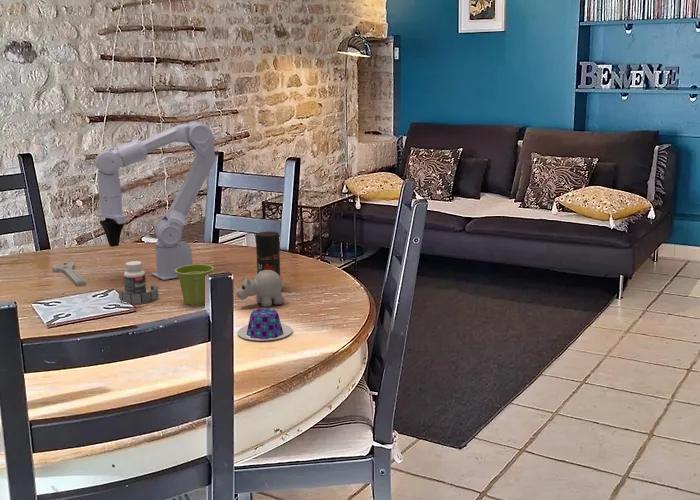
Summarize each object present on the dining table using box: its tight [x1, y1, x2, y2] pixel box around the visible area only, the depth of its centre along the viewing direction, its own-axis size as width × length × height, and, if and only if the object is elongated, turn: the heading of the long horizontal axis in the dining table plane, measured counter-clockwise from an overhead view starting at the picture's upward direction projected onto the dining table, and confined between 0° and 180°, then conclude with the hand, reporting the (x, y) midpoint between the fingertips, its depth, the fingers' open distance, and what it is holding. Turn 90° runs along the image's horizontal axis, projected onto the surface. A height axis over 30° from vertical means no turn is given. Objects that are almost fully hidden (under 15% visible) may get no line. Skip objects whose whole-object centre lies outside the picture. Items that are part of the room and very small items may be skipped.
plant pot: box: [175, 263, 215, 306], centre depth 197 cm, size 9×9×9 cm
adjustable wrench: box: [52, 261, 87, 287], centre depth 223 cm, size 25×6×2 cm, turn 27°
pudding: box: [237, 307, 293, 342], centre depth 174 cm, size 12×12×5 cm
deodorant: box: [255, 230, 281, 277], centre depth 206 cm, size 6×6×15 cm
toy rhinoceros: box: [234, 270, 285, 308], centre depth 194 cm, size 7×12×8 cm, turn 116°
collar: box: [118, 284, 160, 305], centre depth 200 cm, size 10×6×2 cm, turn 127°
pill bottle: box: [123, 260, 147, 293], centre depth 202 cm, size 5×5×9 cm
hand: (114, 245), depth 216 cm, fingers closed
